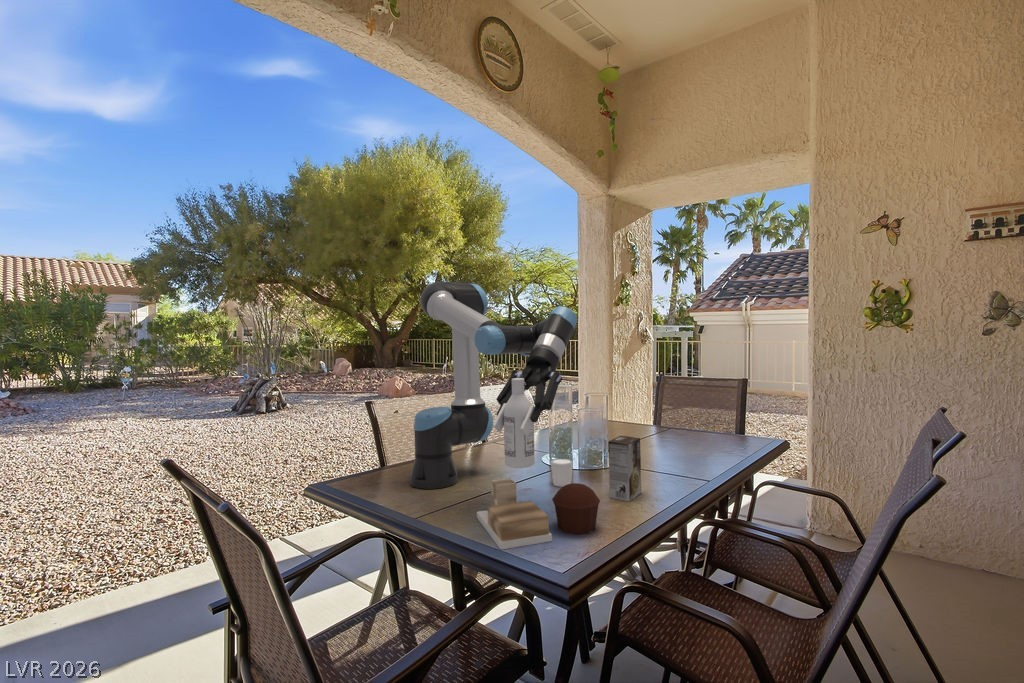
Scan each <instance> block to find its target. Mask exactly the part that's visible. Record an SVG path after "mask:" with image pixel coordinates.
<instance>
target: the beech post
mask: <svg viewBox="0 0 1024 683" xmlns="http://www.w3.org/2000/svg"><path fill="white" fill-rule="evenodd" d="M490 483H491V484H490V486H491V487H490V489H491V490H490V492H491V493H490V494H491V506H496V505H503V504H511V503H518V501H517V483H516V482H515V480H513V479H512V478H510V477H509V478H503V479H501V478H500V479H492V480H490Z"/></svg>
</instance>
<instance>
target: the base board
mask: <svg viewBox="0 0 1024 683" xmlns="http://www.w3.org/2000/svg"><path fill="white" fill-rule="evenodd" d="M476 518H477V520H478V521H479V522H480V524H481V525H482V527H483V528H484V530H486V532H487V534H488V535H489V536H490V538H491V539H492V540H493V541H494V543H495V544H496V546H497V547H498V548H499V550H507V549H513V548H517V547H524V546H531V545H536V544H537V545H538V544H543V543H548V542H549V543H550V542H552V541H553V534H552V533H551V532H550V531H549V534H545V535H539V536H533V537H527V538H520V539H514V540H508V541H501V540H500V538H499V537H498V536H497V534H496V533H495V532H494V531H493V529H492V528H491V527H490V525H489V524H488V509H487V510H479V511H476Z"/></svg>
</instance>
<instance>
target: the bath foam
mask: <svg viewBox="0 0 1024 683" xmlns="http://www.w3.org/2000/svg"><path fill="white" fill-rule="evenodd" d="M524 382H525V381H524V379H523V378H514V379H512V395H511V397H510V398H509V400H508V402H507V404H506V406H505V410H504V426H503V434H504V436H503V438H504V441H503V444H504V463H505V466H507V467H508V468H509V467H510V468H513V469H524V468H530V467H532V466H534V465H535V423H534V424H533V426H532V428H531V430H530V433H529V435H528V436H525V435H524V433H523V432H522V430H521V429H520V428H521V426H522V423H523V421H524V419H525V417H526V415H527V413H528V411H529V408H530V406H531V405H532V404H531V402H530V400H529V399H528V397H527V396H526V395H525V391H524Z"/></svg>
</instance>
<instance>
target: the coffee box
mask: <svg viewBox="0 0 1024 683" xmlns="http://www.w3.org/2000/svg"><path fill="white" fill-rule="evenodd" d="M607 443H608V490H609V493H608V494H609V498H610V499H614V500H619V501H624V502H631V501H633V500H634V499H635V498H636V497H638V496H639V495H640V494H641V493H642V465H641V464H642V463H641V462H642V461H641V438H640V437H633V436H627V435H619V436H616V437H615V438H612V439H611V440H608V441H607Z"/></svg>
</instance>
